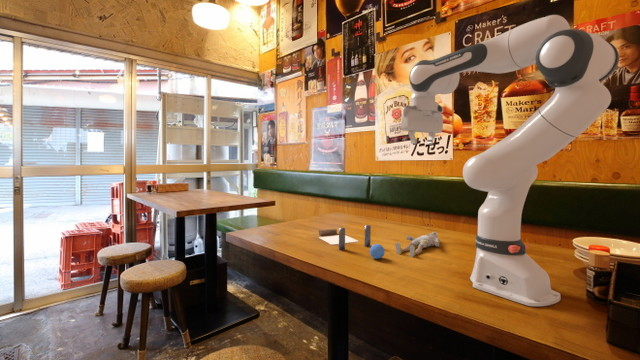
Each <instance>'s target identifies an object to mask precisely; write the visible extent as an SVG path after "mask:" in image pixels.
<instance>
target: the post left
mask: <svg viewBox="0 0 640 360" xmlns="http://www.w3.org/2000/svg"><path fill="white" fill-rule="evenodd" d="M338 235H339V244H338V251H346V243H345V235H346V227H338Z"/></svg>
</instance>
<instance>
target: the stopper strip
mask: <svg viewBox="0 0 640 360" xmlns="http://www.w3.org/2000/svg"><path fill="white" fill-rule="evenodd" d="M318 235H319V237H326V236H335V235H338V229H336V228H328V229H327V228H326V229H319V230H318Z"/></svg>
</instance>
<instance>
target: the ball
mask: <svg viewBox="0 0 640 360" xmlns="http://www.w3.org/2000/svg"><path fill="white" fill-rule="evenodd" d="M369 254H370V256H371V257H372V258H373V259H376V260H381V259H382V258H384V255H385V247H383V245H381V244H379V243H375V244H372V245H371V246H370V247H369Z"/></svg>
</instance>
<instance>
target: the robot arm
mask: <svg viewBox="0 0 640 360" xmlns="http://www.w3.org/2000/svg"><path fill="white" fill-rule="evenodd" d="M619 62H620V53H619V51H618V49H617V47H615V45H614V44H613V43H611V42H609V41H606V40H605V39H604V38H603V37H601V36H600V35H598V34H595V33H593V32H588V31H585V30H583V29H578V28H571V26H570V24H569V22H568V21H567V19H565V17H563V16H561V15H559V14H550V15H546V16H545V17H544V16H543V17H540V18H537V19H536V18H535V19H533V20H531V21H528V22H526V23H523V24H520V25H518V26H516V27H513V28H512V29H510V30H507V31H505V32H503V33H501V34H498V35H496V36H494V37H492V38H489V39H486V40H483V41H480V42H478V43H476V44H473V45H470V46H466V47H463V48H460V49H458V50H456V51H453V52H450V53H449V54H448V53H447V54H446V55H443V56H440V57H437V58H434V59H429V60H428V59H421V60H419V61H418V62H417V63H416V64H415V65H414V66H413V67H412V69H411V70H410V72H409V77H408V78H409V79H408V80H409V84H410V91H411V95H410V96H411V97H410V105H409V104H406V105H405V106H404V107H403V109H402V115H401V121H400V128H401V130H402V131H403V132H408V134H407V135H408V137H409V139H410V144H411V145H412V144H414V145H417V144H418V138H416V133H426V134H428V139H426V145H429V146H431V145H434V140H435V137H436V134H440V133H442V132H443V129H444V116H443V114H442V113H444V107H443V106H442V105H440V104H439V103H438V102H437V101H436V96H437V95H449V94H453V92H455V90H457V88H458V87H459V85H460V81H461V75H460V74H461V73H464V72H480V73H490V74H506V73H510V72H511V73H512V72H515V71H518V70H522V69H524V68H527V67H529V66H530V67H531V66H533V65H535V64H536V67H537V70H539V72H540V74H541V75H542V77H544V79H545V81H546V83H547V85H548V86H549V87H552V88H554V92H553V93H552V95H551V96H550V97H549V98H548V99H547V101H545V102H544V103H543V104H542V105H541V106H540V107H539V108H538V109H536V110H535V112H533V113H532V114H531V115H530V116H529V117H528V118H527V119H526V120H525V121H524V122H523V123H521V125H519V127H517V128H516V129H515V130H514V131H513V132H511V133H510V134H508V135H507V136H506V137H504V138H503V139H501V140H500V141H498V142H497V143H495V144H494V145H492V146H490V147H489V148H487V149H486V150H484V151H483V152H481V153H478V154H476V155H473V156H472V157H470V158H469V159H468V160H467V161H466V162H465V163H464V165H463V168H462V177H463V180H464V182H465V184H466V185H467V186H469V188H471V189H474V190H477V191H481V192H487V196H486V198H485V200H484V202H483V203H482V204H481V206H480V207H479V209H478V210H477V211H478V212H477V214H478V215H477V234H476V235H475V244H474V245H475V249H476V251H475V259H474V264H473V269H472V272H471V275H470V277H469V279H470V281H471V282H472V287H473V288H475V289H476V290H479V291H482V292H486V293H489V294H491V295H495V296H498V297H501V298H503V299H505V300H506V299H507V300H510V301H512V302H515V303H518V304H522V305H525V306H527V307H547V306H552V305H554V304H557V303H559V302H560V301H561V298H562V297H561V293H560V292H558V291H555V290H554V289H552V288H551V287H552V286H551V280H550V276H549V274H548V273H547V271H545V269H543V268H542V267H541V266H540V265H539V264H538V263H537V262H536V261H535V260H534V259H533V258H531V257H530V256H529V255H528V254H527V250H526V249H529V248H530V245H531V244H530V243H526V244H525V243H524V242H523V240H522V238H521V229H522V228H521V227H522V225H521V224H522V214H523V209H524V205H525V202H526V198H527V195H528V193H529V191H530V187H531V186H532V184H533V183H535V181H536V179H537V177H538V174H539V173H538V172H539V168H538V166H537V165H539V164H541V163H543V162H546V161H548V160H550V159H551V158H552V157H553V156H556V154H558V153H559V152H560V151H561V150H563V149H564V148H566V147H567V145H569V144H570V143H571V142H573V141H574V140H575V139H577V138H578V137H579V136H580V135H581V134H583V133H584V132H585V131H586V130H587V129H588V128H589V127H590V126H592V125H593V123H594V122H596V120H598V119H599V118H600V116H601V115H602V114H603V113H605V111H606V109H607V108H609V106H610V105H611V102H612V94H611V93H610V90H609V89H608V88H607V87H606V86H605V85H604V84H603V83H601V82H603V81H605V80H606V79H608V78H609V77H611V76H612V74H613V73H614V72H615V71H616V70H617V67H618V65H619Z"/></svg>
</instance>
